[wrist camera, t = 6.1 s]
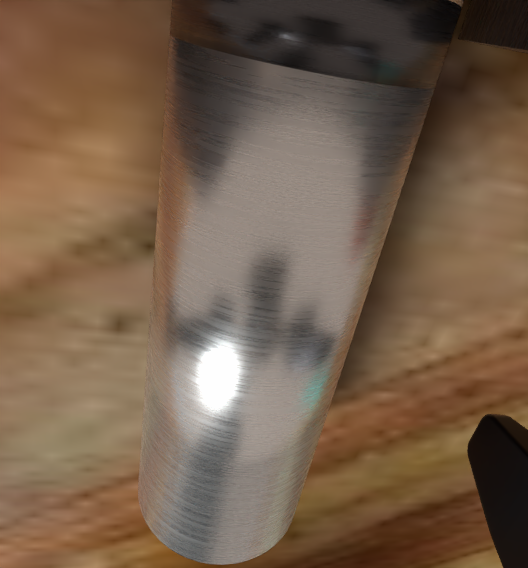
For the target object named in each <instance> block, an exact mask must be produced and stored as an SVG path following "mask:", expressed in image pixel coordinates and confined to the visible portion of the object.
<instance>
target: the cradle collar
mask: <svg viewBox="0 0 528 568" xmlns="http://www.w3.org/2000/svg"><path fill="white" fill-rule="evenodd" d="M458 39H460V40H465V41H470V42H474V43H479V44H484V45H489V46H494V47H499V48H503V49H508V50H513V51H518V52H523V53H528V0H471V3H470V6H469V9H468V12H467V14H466V17H465V20H464V23H463V26H462V29H461V32H460V35H459V38H458Z"/></svg>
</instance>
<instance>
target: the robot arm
mask: <svg viewBox="0 0 528 568" xmlns="http://www.w3.org/2000/svg"><path fill="white" fill-rule="evenodd" d="M467 451H468V458H469V461H470V465H471V468H472V472H473V475H474V479H475V482H476V486H477V489H478V493H479V496H480V500H481V503H482V507H483V510H484V514H485V518H486V521H487V524H488V527H489V531H490V534H491V537H492V539H493V542H494V545H495V548H496V550H497V553H498V555H499V558H500V560H501V563H502V566H503V568H528V430H527V429H526V428H524V427H523V426H522V425H520V424H519V423H517V422H516V421H515V420H513V419H512V418H511V417H509V416H506V415H497V414H487V415H485V416H484V417H483V418H482V419H481V421H480V423H479V425H478V426H477V428H476V430H475V432H474V434H473V435H472V437H471V439H470V441H469V443H468V450H467Z"/></svg>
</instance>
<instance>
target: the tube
mask: <svg viewBox="0 0 528 568" xmlns="http://www.w3.org/2000/svg"><path fill="white" fill-rule="evenodd" d="M463 2H464V0H172V10H171V25H170V39H169V53H168V68H167V82H166V96H165V111H164V125H163V140H162V154H161V168H160V183H159V197H158V211H157V226H156V240H155V255H154V269H153V283H152V298H151V312H150V326H149V341H148V355H147V370H146V384H145V398H144V413H143V427H142V441H141V456H140V470H139V485H138V497H139V504H140V508H141V512H142V514H143V517H144V519H145V521H146V523H147V525H148V526H149V528H150V529H151V531H152V532H153V533H154V534H155V536H156V537H157V538H158V539H159V540H160V541H161V542H162V543H163V544H165V545H166V546H167V547H168V548H170V549H171V550H173V551H174V552H176V553H178V554H180V555H182V556H184V557H186V558H188V559H191V560H195V561H198V562H202V563H208V564H221V565H224V564H235V563H239V562H244V561H247V560H250V559H253V558H255V557H258V556H259V555H261V554H263V553H265V552H266V551H268V550H269V549H270V548H272V547H273V546H274V545H275V544H276V543H277V542H278V541H279V540H280V539H281V538H282V537H283V536H284V534H285V533H286V531H287V530H288V528H289V526H290V524H291V522H292V520H293V517H294V514H295V511H296V508H297V505H298V501H299V498H300V495H301V492H302V489H303V486H304V483H305V480H306V477H307V474H308V471H309V468H310V465H311V462H312V459H313V456H314V453H315V450H316V447H317V444H318V441H319V438H320V435H321V432H322V429H323V426H324V423H325V420H326V417H327V414H328V411H329V408H330V405H331V402H332V399H333V396H334V393H335V390H336V386H337V383H338V380H339V377H340V374H341V371H342V368H343V365H344V362H345V359H346V356H347V353H348V350H349V347H350V344H351V341H352V338H353V335H354V332H355V329H356V326H357V323H358V320H359V317H360V314H361V311H362V308H363V305H364V302H365V299H366V296H367V293H368V290H369V287H370V284H371V281H372V278H373V275H374V271H375V268H376V265H377V262H378V259H379V256H380V253H381V250H382V247H383V244H384V241H385V238H386V235H387V232H388V229H389V226H390V223H391V220H392V217H393V214H394V211H395V208H396V205H397V202H398V199H399V196H400V193H401V190H402V187H403V184H404V181H405V178H406V175H407V172H408V169H409V166H410V163H411V160H412V156H413V153H414V150H415V147H416V144H417V141H418V138H419V135H420V132H421V129H422V126H423V123H424V120H425V117H426V114H427V111H428V108H429V105H430V102H431V99H432V96H433V93H434V90H435V87H436V84H437V81H438V78H439V75H440V72H441V69H442V66H443V63H444V60H445V57H446V54H447V51H448V48H449V45H450V41H451V38H452V35H453V32H454V29H455V26H456V23H457V20H458V17H459V14H460V11H461V8H462V5H463Z"/></svg>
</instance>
